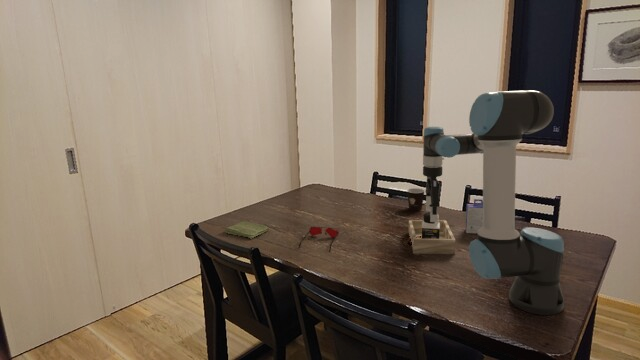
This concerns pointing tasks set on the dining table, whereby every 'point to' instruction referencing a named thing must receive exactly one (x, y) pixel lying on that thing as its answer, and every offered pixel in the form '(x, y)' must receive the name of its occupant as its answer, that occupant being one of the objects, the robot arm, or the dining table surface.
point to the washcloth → (246, 229)
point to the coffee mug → (415, 199)
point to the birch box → (431, 245)
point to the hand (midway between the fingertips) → (431, 216)
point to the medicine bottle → (430, 228)
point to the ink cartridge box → (474, 216)
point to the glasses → (319, 230)
